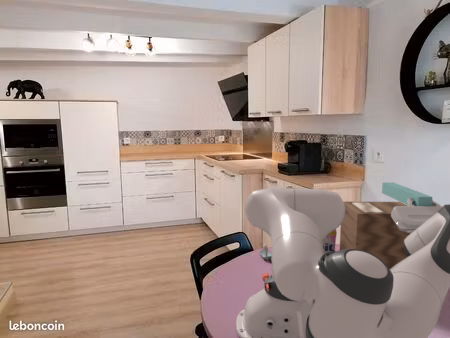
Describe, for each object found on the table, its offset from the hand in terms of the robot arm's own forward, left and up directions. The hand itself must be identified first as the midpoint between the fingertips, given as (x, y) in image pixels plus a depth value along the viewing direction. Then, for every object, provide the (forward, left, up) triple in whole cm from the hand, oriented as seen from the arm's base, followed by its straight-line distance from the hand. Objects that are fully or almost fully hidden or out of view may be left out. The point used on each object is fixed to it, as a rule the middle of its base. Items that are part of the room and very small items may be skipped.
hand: (418, 199), depth 106 cm
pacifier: (-43, +32, -33) cm, 63 cm away
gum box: (-28, +33, -33) cm, 54 cm away
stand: (-5, +16, -32) cm, 36 cm away
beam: (0, +9, -2) cm, 10 cm away
